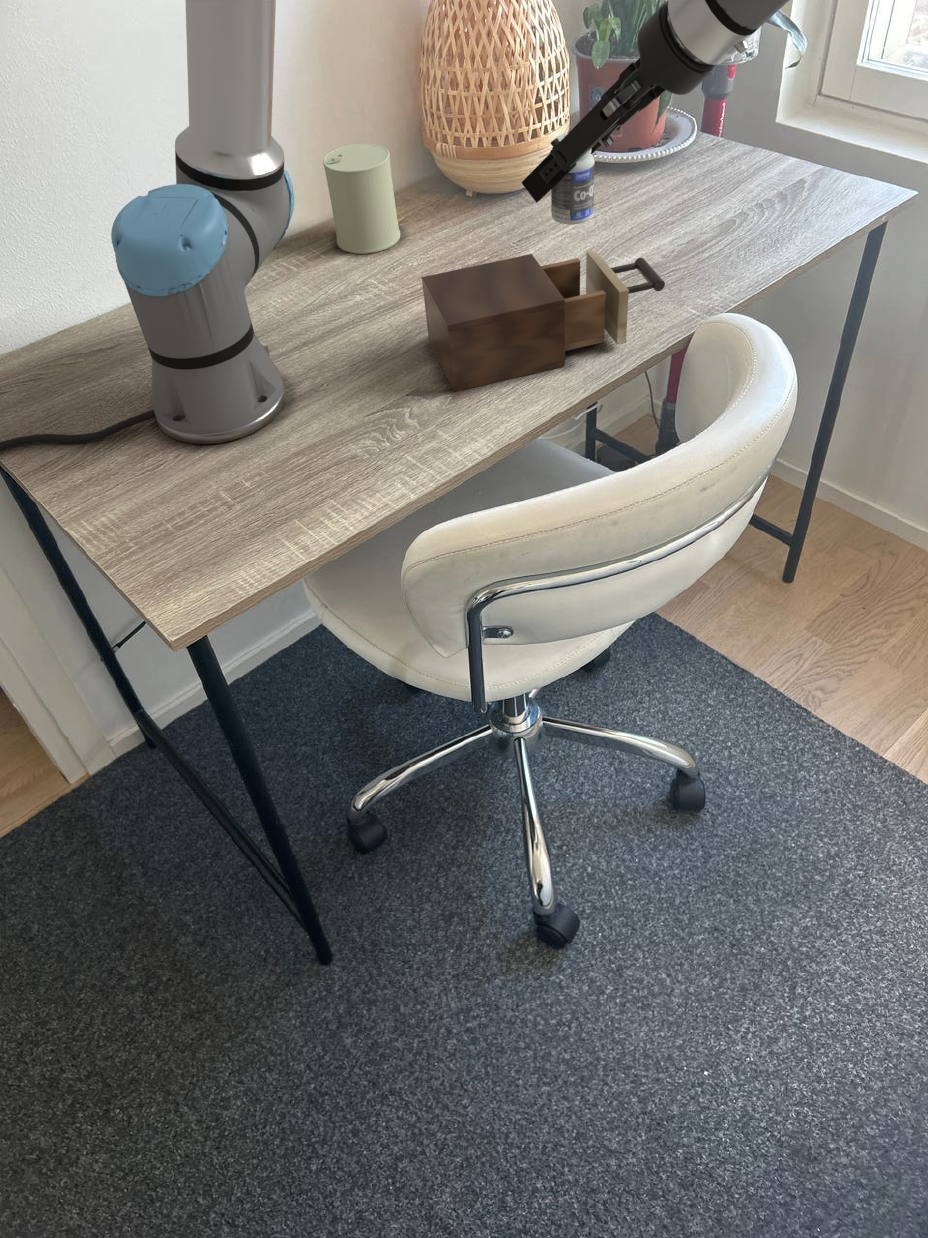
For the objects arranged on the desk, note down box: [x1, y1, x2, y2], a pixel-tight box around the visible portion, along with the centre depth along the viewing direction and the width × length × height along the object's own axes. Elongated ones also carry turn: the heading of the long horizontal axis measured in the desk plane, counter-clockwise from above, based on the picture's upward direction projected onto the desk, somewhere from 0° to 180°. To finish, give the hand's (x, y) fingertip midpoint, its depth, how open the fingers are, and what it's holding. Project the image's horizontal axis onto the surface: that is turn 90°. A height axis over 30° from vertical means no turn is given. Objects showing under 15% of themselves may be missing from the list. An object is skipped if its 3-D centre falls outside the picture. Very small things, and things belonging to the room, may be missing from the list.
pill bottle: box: [550, 132, 596, 226], centre depth 107 cm, size 5×5×8 cm
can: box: [322, 142, 401, 255], centre depth 136 cm, size 9×9×12 cm
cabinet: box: [421, 253, 566, 393], centre depth 115 cm, size 14×12×9 cm
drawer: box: [540, 249, 666, 352], centre depth 116 cm, size 18×10×7 cm, turn 106°
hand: (543, 181), depth 109 cm, fingers closed on pill bottle, 5 cm apart
